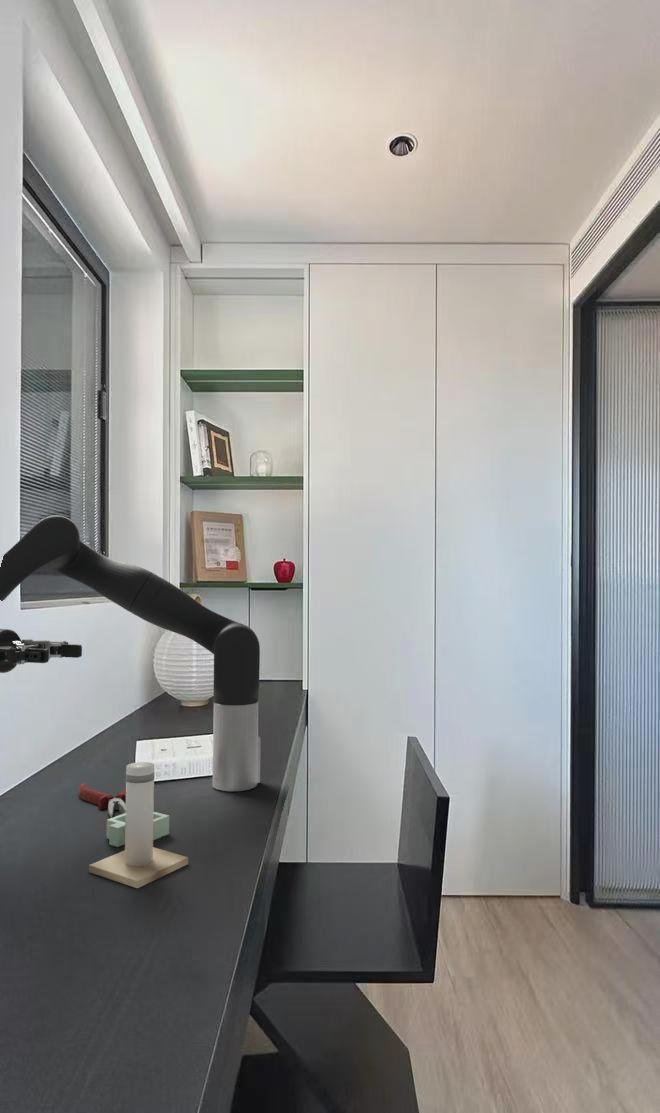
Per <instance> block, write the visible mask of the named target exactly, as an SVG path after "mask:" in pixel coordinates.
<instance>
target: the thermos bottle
mask: <svg viewBox="0 0 660 1113" xmlns="http://www.w3.org/2000/svg"><path fill="white" fill-rule="evenodd" d="M125 767H126V769H125V770H126V771H125V789H126V818H125V844H124V850H125V864H126V865H128V866H133V867H138V866H144V865H148V864H150V863H151V862H152V861H153V847H154V840H153V813H154V812H155V811H154V810H155V809H154V808H155V807H154V806H155V805H154V802H155V801H154V799H155V796H154V795H155V793H154V792H155V763H153V762H149V761H137V762H132V763H129V764H127V765H126V766H125Z"/></svg>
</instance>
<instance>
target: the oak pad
mask: <svg viewBox="0 0 660 1113" xmlns="http://www.w3.org/2000/svg"><path fill="white" fill-rule="evenodd" d="M187 865H189V857H188V856H185V855H182V854H179V853H175V852H171V851H169V850H164V849H161V848H157V847H155V846H153V861H152V862H151V863H150V864H148V865H144V866H138V867H133V866H128V865H126V864H125V849H124V850H121V851H119V852H118V853H115V854H113V855H110V856H107V857H105V858H103V859H100V860H98V861H96V862H93V863H91V864H89V865H88V869H89V870H88V872H89V873H91V874H93V875H97V876H99V877H100V876H101V877H103V878H106V879H109V880H110V881H111V880H112V881H115V882H116V883H117V882H118V883H120V884H123V885H125V886H129V887H132V888H136V889H140V888H141V887H143V886H145V885H148V884H150V883H152V882H154V881H155V880H158V879H160V878H162V877H164V876H166V875H169V874H171V873H172V872H175V871H176V870H179V869H181V868H183V867H185V866H187Z"/></svg>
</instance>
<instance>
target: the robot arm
mask: <svg viewBox="0 0 660 1113" xmlns="http://www.w3.org/2000/svg"><path fill="white" fill-rule="evenodd" d="M80 538H81V537H80V532H79V529H78V527H77V525H76V524H75V522H74V521H72V519H70V518H68V517H66V516H63V515H50V516H46V517H43V518H42V519H40V520H39V521H37V523H36V524H34V525H33V526H32V528H30V529H29V530H28V531H27V533H25V534H24V535H23V537H22V538H21V539H19V540H18V541H17V542H16V543H15V544H14V545H13V546H11V548H10V549H9V550H8V551H7V552H6V553H4V554H3V555H4V556H3V555H2V556H3V560H2V563H1V567H0V600H1V601H3V600H4V601H5V600H6V599H7V597H9V596H10V595H11V593H12V592H13V591H14V590H15V589H16V588H17V587H19V585H20V584H22V583H23V582H24V581H25V580H26V579H27V578H29V577H30V576H31V575H32V574H33V573H35V572H36V571H38V570H39V569H41V568H43V567H45V568H46V569H48V570H51V571H52V572H56V573H58V574H60V575H63V576H65V577H67V578H69V579H72V580H74V581H77V582H78V583H80V584H82V585H85V586H87V587H89V589H92V590H93V591H94V592H96V593H98V594H100V595H101V596H102V597H104V598H106V599H108V600H109V601H111V602H112V603H114V604H115V605H117V606H119V607H120V608H123V609H124V610H126V611H127V612H129V613H131V614H133V615H135V616H137V617H138V618H140V619H142V620H144V621H146V622H147V623H149V624H152V625H154V626H156V627H159V628H162V629H164V630H166V631H169V632H173V633H175V634H178V635H181V636H184V637H186V638H188V639H189V640H192V641H193V642H195V643H196V644H198V645H199V646H201V647H203V648H204V649H205V650H207V651H209V652H210V653H211V654H212V655H213V716H212V717H213V720H212V721H213V725H212V726H213V727H212V728H213V729H212V730H213V733H212V734H213V735H212V739H213V740H212V788H213V789H216V790H218V791H221V792H243V791H244V792H245V791H249V790H252V789H254V788H256V787H257V786H258V784H259V783H260V782H261V740H262V739H261V737H260V736H259V691H260V666H261V663H260V662H261V660H260V658H261V655H260V654H261V653H260V652H261V646H260V642H259V641H260V640H259V639H258V636H257V634H256V633H255V631H254V630H253V629H252V628H250V627H249V626H247V625H246V624H244V623H240V622H239V621H238V622H237V621H235V620H232V619H230V618H228V617H227V616H226V617H225V616H223V615H221V614H220V613H217V612H215V611H213V610H211V609H209V608H208V607H206V606H205V605H202V604H201V603H199V601H197V600H195V598H193V597H192V596H190V595H189V594H188V593H186V592H185V591H183V590H182V589H180V588H179V587H177V586H175V584H173V583H171V582H169V581H168V580H166V579H164V578H163V577H161V576H159V575H157V574H155V573H154V572H152V571H150V570H148V569H146V568H143V567H141V566H139V565H135V564H132V563H128V562H124V561H120V560H117V559H113V558H110V557H108V556H106V555H104V554H103V553H100V552H98V551H97V550H96V549H93V547H91V546H89V545H87V544H86V543H85V542H83V540H81V539H80ZM4 601H3V602H4ZM82 648H83V646H82V645H81V644H73V643H72V644H71V643H69V642H68V641H66V640H64V641H54V640H53V641H51V640H49V639H46V640H42V639H41V640H33V639H29V638H28V639H27V638H26V639H21V637H20V636H19V634H18V633H17V632H16V631H14V630H13V629H10V628H0V673H1V674H4V673H5V674H6V673H9V672H11V671H12V670H14V669H15V668H16V667H17V666H18V665H19V666H21V665H25V664H26V663H30V664H31V663H35V664H46V663H48V662H49V660H50V659H51V658H59V659H62V658H72V659H73V658H75V659H77V658H81V657H82V655H83V649H82Z"/></svg>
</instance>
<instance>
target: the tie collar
mask: <svg viewBox="0 0 660 1113" xmlns="http://www.w3.org/2000/svg"><path fill="white" fill-rule="evenodd" d="M125 818H126V813H124V814H119V815H116V816H114V817H113V816H112V818H111V817H110V818H107V819H106V832H105V833H106V837H105V838H106V839H107V840H109V842H108V845H110V846H112V847H116V848H119V847H121V846H125ZM169 834H170V815H168V814H165V813H160V812H157V811H154V813H153V841H155V840H159V839H161V838H162V836H163V837H165V836H168V835H169Z"/></svg>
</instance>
